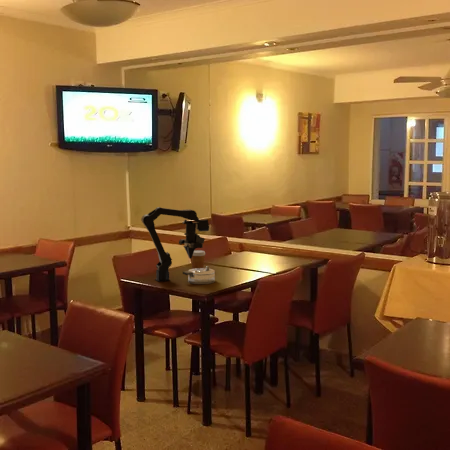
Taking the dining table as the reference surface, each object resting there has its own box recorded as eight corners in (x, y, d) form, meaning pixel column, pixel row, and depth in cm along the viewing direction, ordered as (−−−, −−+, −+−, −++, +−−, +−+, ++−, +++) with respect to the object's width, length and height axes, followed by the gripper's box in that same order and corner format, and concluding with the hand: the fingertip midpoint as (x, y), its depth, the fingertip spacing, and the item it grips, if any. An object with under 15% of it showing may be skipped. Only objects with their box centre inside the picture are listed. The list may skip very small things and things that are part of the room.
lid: (191, 276, 316) (191, 271, 316) (178, 272, 329) (178, 266, 328) (219, 273, 326) (219, 268, 326) (205, 268, 339) (205, 263, 338)
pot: (196, 285, 318) (196, 276, 318) (182, 280, 331) (182, 271, 331) (220, 282, 327) (220, 273, 326) (205, 277, 340) (205, 269, 339)
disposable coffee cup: (187, 271, 358) (187, 251, 357) (195, 268, 367) (195, 249, 365) (200, 272, 354) (200, 253, 352) (208, 269, 362) (208, 250, 361)
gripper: (211, 232, 329) (210, 259, 331) (195, 229, 345) (194, 255, 347) (193, 233, 323) (193, 261, 325) (178, 230, 339) (178, 256, 341)
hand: (190, 258), depth 334 cm, fingers closed
